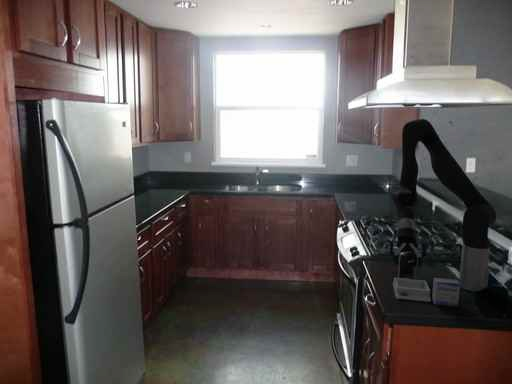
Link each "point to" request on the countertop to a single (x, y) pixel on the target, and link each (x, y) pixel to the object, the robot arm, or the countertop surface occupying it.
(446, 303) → the medicine box
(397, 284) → the charging dock
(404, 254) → the battery charger
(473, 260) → the robot arm
